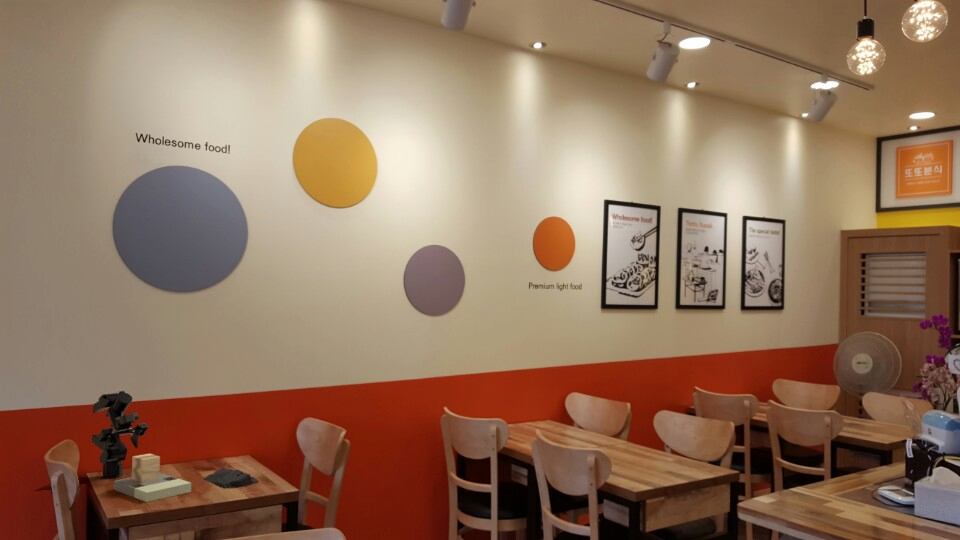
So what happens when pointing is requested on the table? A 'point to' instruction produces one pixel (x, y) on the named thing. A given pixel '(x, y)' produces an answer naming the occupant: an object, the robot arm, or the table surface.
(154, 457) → the maple block
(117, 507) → the table surface
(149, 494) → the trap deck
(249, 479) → the dark slate chunk
